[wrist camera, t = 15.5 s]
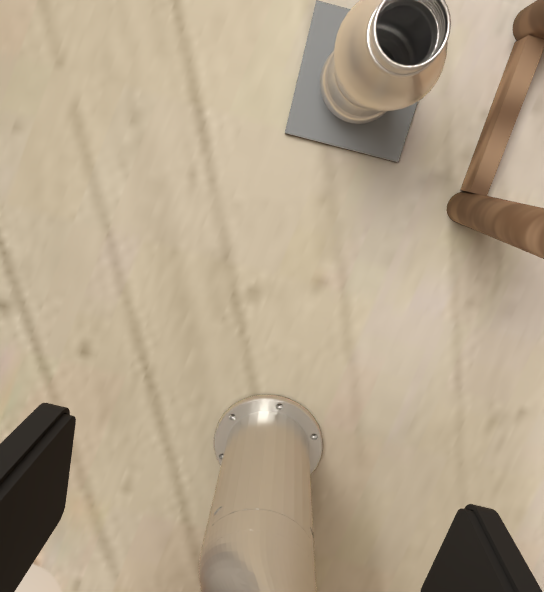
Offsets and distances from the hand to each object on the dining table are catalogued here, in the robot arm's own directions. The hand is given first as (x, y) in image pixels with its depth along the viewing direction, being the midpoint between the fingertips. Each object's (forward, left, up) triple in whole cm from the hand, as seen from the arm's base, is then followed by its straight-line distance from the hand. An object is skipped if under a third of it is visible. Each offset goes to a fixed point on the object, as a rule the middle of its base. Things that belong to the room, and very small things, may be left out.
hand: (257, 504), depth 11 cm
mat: (+15, -3, -36) cm, 39 cm away
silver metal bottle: (+15, -3, -36) cm, 39 cm away
